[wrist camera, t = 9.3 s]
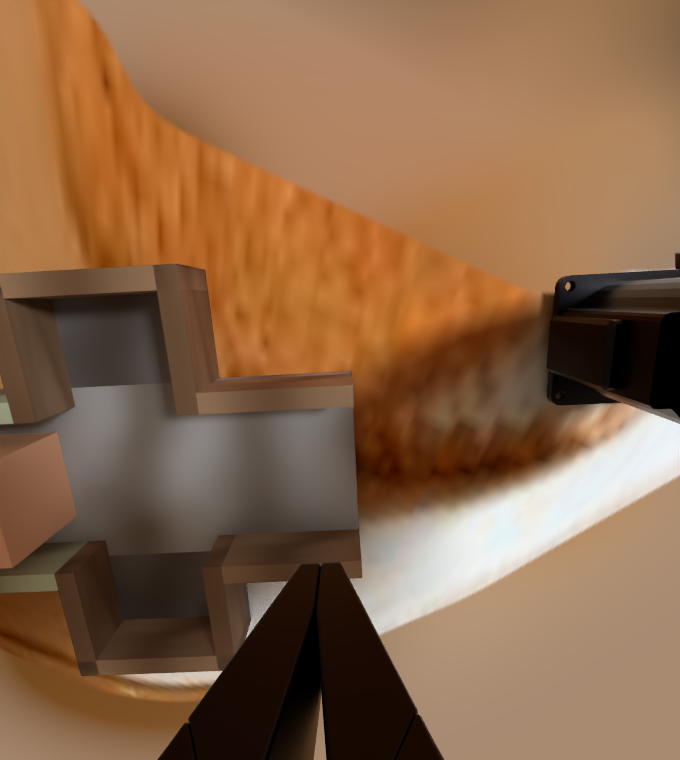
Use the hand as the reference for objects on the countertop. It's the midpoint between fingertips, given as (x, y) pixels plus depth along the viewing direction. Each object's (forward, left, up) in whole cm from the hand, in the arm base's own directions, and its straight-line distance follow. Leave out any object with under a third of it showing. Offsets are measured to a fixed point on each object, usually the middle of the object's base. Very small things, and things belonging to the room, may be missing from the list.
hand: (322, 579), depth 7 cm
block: (+17, +3, -11) cm, 21 cm away
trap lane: (+10, +3, -12) cm, 16 cm away
